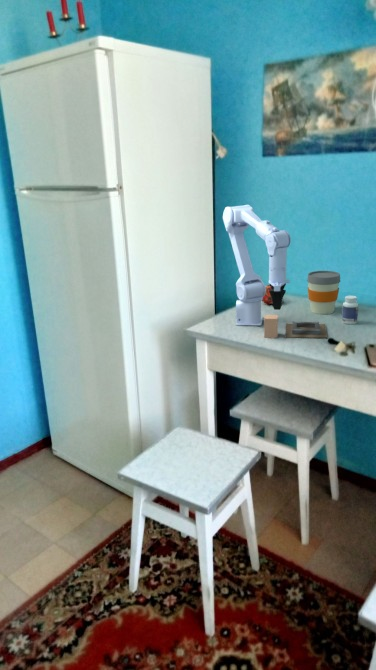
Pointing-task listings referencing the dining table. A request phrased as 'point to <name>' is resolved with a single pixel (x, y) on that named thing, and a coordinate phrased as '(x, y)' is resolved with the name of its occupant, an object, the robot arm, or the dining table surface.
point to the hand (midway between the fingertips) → (277, 306)
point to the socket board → (306, 330)
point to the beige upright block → (270, 326)
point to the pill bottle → (350, 310)
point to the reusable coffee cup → (323, 291)
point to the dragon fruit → (267, 296)
